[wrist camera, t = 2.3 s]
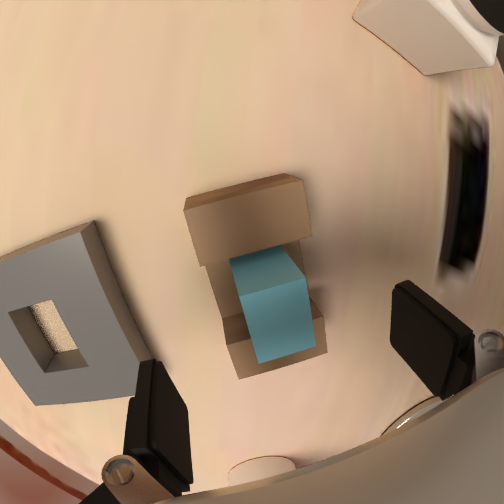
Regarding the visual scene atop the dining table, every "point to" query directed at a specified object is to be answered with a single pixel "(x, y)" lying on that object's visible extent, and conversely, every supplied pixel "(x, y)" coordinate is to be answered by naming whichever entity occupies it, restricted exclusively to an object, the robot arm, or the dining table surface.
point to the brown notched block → (247, 241)
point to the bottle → (259, 469)
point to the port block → (68, 321)
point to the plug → (274, 303)
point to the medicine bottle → (437, 31)
